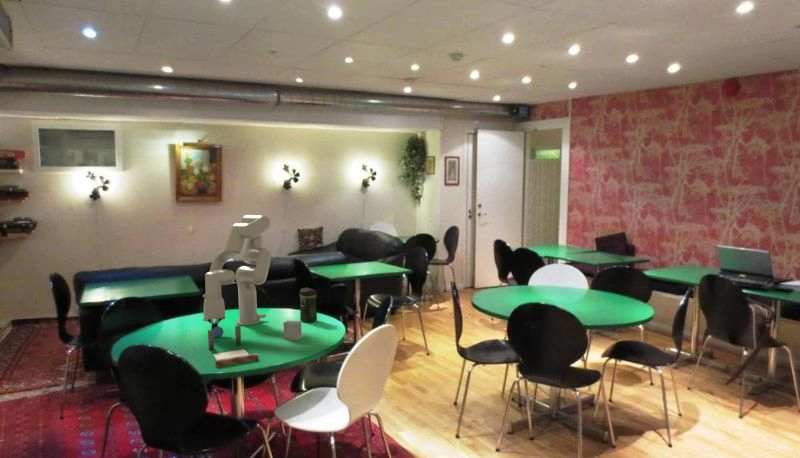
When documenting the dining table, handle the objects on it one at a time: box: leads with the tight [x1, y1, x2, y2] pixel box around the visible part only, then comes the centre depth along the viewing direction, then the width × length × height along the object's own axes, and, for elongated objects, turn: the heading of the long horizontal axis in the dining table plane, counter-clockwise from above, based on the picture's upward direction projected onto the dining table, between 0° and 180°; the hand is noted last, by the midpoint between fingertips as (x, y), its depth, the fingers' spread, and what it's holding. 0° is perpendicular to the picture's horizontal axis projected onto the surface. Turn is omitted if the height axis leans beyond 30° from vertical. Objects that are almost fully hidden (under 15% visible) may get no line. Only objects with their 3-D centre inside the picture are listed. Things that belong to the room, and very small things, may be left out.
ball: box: [213, 325, 224, 338], centre depth 276 cm, size 6×6×6 cm
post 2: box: [234, 325, 242, 347], centre depth 263 cm, size 2×2×9 cm
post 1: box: [207, 329, 215, 351], centre depth 257 cm, size 2×2×9 cm
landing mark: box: [213, 348, 250, 360], centre depth 246 cm, size 14×14×1 cm
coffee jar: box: [299, 287, 318, 324], centre depth 304 cm, size 10×8×19 cm
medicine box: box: [282, 319, 303, 341], centre depth 272 cm, size 8×4×9 cm, turn 71°
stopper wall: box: [214, 352, 260, 368], centre depth 238 cm, size 18×2×2 cm, turn 119°
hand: (214, 331), depth 281 cm, fingers closed
